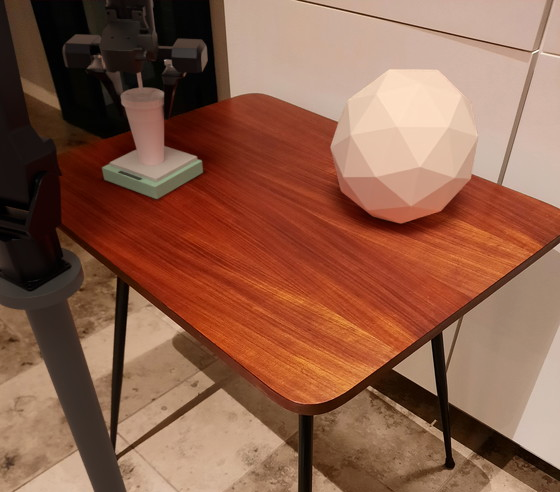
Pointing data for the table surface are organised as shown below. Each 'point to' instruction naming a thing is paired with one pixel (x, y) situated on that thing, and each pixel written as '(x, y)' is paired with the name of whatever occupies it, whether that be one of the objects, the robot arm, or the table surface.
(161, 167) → the scale
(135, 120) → the smoothie
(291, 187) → the table surface
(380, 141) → the ball
